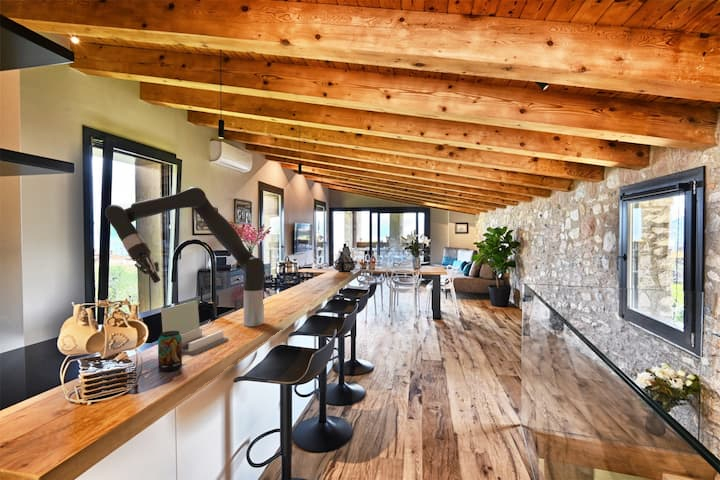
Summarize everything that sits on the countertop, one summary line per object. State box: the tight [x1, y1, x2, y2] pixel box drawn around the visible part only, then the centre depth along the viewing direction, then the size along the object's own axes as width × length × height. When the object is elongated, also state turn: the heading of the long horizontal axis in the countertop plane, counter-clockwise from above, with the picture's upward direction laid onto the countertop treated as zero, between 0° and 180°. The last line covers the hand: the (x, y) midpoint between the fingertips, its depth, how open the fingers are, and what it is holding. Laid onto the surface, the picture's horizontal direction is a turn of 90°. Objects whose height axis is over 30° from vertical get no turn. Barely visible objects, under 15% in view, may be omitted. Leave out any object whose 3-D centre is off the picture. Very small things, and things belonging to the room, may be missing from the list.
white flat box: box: [181, 328, 229, 356], centre depth 152 cm, size 20×16×4 cm
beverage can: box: [157, 331, 183, 373], centre depth 126 cm, size 7×7×12 cm
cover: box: [160, 300, 201, 335], centre depth 154 cm, size 19×12×1 cm
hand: (157, 281), depth 156 cm, fingers closed
